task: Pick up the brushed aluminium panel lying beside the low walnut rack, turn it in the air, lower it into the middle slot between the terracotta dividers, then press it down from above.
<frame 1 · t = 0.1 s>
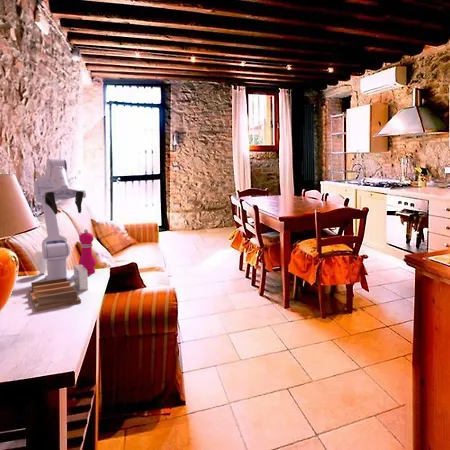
hand: (68, 211, 120), 32 cm above the table, tool tilted 50°, fingers open, 7 cm apart
rack: (54, 297, 127), on the table
pepper mill: (87, 273, 157), on the table
lightbulb: (42, 274, 154), on the table
panel: (81, 287, 139), on the table
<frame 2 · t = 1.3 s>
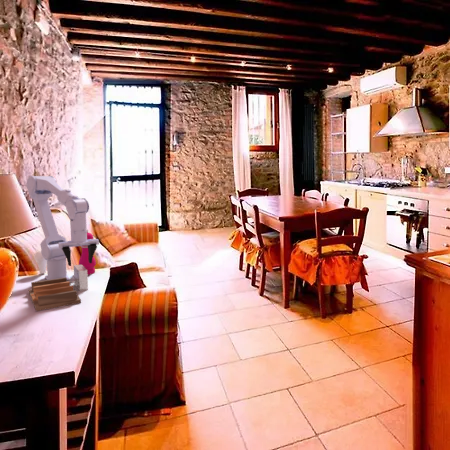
hand: (80, 264, 137), 9 cm above the table, tool pointing down, fingers open, 7 cm apart
nothing on the table moved.
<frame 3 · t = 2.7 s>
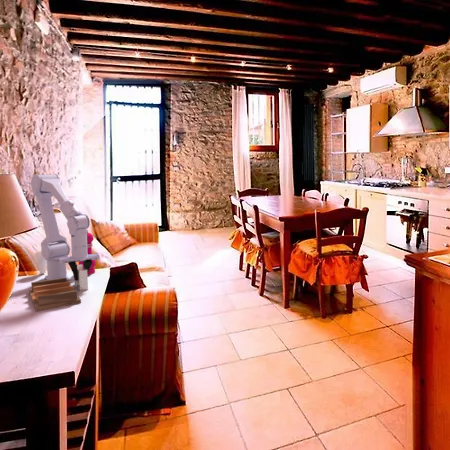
hand: (80, 279, 138), 3 cm above the table, tool pointing down, fingers closed on panel, 3 cm apart
panel: (81, 286, 139), on the table, touching gripper
everything else where it was.
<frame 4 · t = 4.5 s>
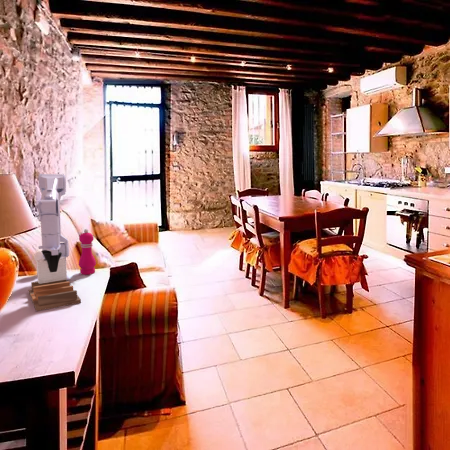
hand: (52, 270, 125), 10 cm above the table, tool pointing down, fingers closed on panel, 3 cm apart
panel: (52, 280, 126), point 7 cm above the table, touching gripper
everything else where it was.
when the fingers open (5 cm above the table, at t = 6.6 s): panel stays where it is, resting on rack.
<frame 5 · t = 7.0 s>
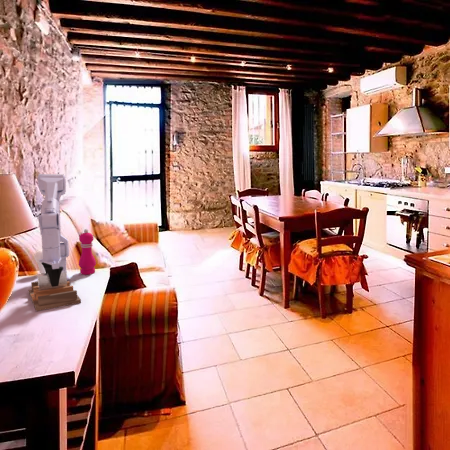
hand: (53, 283, 126), 5 cm above the table, tool pointing down, fingers open, 6 cm apart
panel: (53, 294, 127), point 1 cm above the table, touching rack
everything else where it was.
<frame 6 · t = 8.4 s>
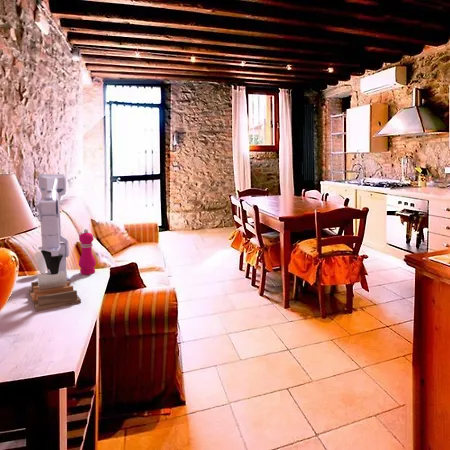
hand: (52, 271, 125), 10 cm above the table, tool pointing down, fingers open, 7 cm apart
nothing on the table moved.
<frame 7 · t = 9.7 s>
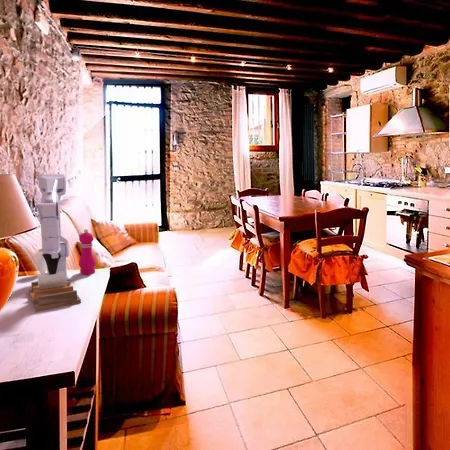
hand: (52, 273, 125), 9 cm above the table, tool pointing down, fingers closed, pressing on panel
panel: (53, 294, 127), point 1 cm above the table, touching gripper, rack
everything else where it was.
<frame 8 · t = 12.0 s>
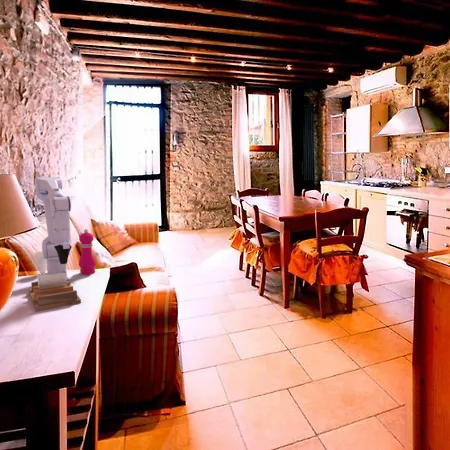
hand: (63, 263, 134), 10 cm above the table, tool pointing down, fingers closed
panel: (53, 294, 127), point 1 cm above the table, touching rack
everything else where it was.
at the end: panel 0.2 cm off-centre on the rack, point 1.2 cm above the rack's base; panel tilted 0°; the gripper is holding nothing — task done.
